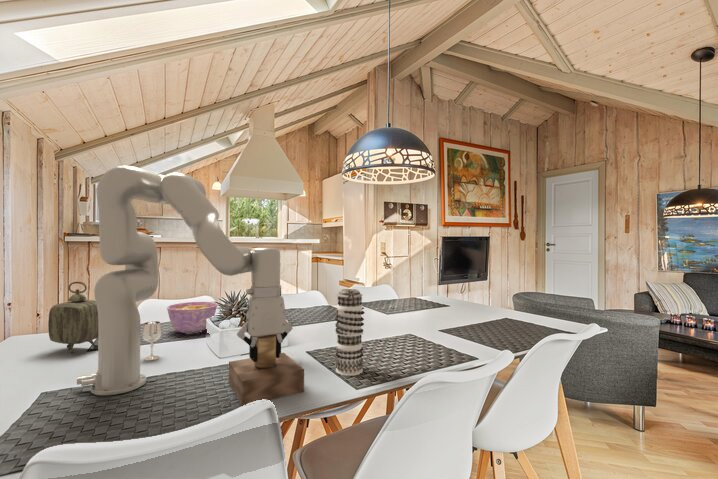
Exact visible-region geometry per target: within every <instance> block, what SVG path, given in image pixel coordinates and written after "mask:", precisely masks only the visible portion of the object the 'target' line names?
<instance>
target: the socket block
mask: <svg viewBox="0 0 718 479" xmlns="http://www.w3.org/2000/svg"><path fill="white" fill-rule="evenodd" d="M228 385H229V386H230V388H231V387H232V388H231V389H233V390H232V391H233V393H234V392H235V393H234V395H235V394H236V395H235V397H236V398H237V397H238V398H237V400H238V399H239V400H238V402H239V403H240V404H241V406H242V405H244V404H247V403H249V402H253V401H256V400H262V399H268V400H267V401H269V400H275V399H277V398H283V397H287V396H292V395H295V394H301V393H304V392H305V368H304V367H302V366H301V365H300V364H299V363H297V362H296V360H294V359H292V358H291V357H290V356H289V355H287V354H286V353H285V352H281V354H280V357H279V358H276V366H274V367H272V368H269V369H261V370H259V369H258V368H255V362H253V360H252V359H250V357H249V358H243V359H237V360H231V361H228Z"/></svg>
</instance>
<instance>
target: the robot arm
mask: <svg viewBox="0 0 718 479" xmlns="http://www.w3.org/2000/svg"><path fill="white" fill-rule="evenodd" d="M96 186H97V187H96V201H97V208H98V220H99V221H98V228H99V229H98V230H99V231H98V233H99V235H98V236H99V252H100V257H101V260H102V261H103V262H104V263H105V264H107V265H111V266H124V269H119V270H115V271H110V272H108V273H105V274H104V275H102V276H101V277H100V278H98V280H97V281H96V283H95V285H94V289H93V293H94V300H96V305H97V310H98V332H99V336H98V338H97V339H98V344H97V345H98V349H97V351H98V354H97V355H98V359H97V362H98V364H97V372H95V373H94V372H93V373H92V374H91V375H81V376H77V378H76V385H81V387H84V386H85V387H86V386H88V385H91V386H90V393H92V395H95V396H113V395H121V394H125V393H128V392H131V391H134V390H137V389H139V388H141V387H142V386H143V385H146V383H147V376H146V375H145V374H144V373H143V374H142V373H141V316H140V315H141V314H140V311H139V307H138V306H137V303H136V302H139V301H143V300H147V299H148V298H151V297H152V296H153V295H154V294H155V293H156V291H157V290H158V285H159V263H158V261H159V259H158V257H159V256H158V248H157V244H156V242H155V240H154V238H153V237H152V236H150V234H148V233H145V232H141V231H138V227H137V220H138V218H137V213H136V210H135V207H134V206H133V203H132V200H140V201H144V202H150V203H155V204H163V205H164V204H165V205H170V207H171V208H172V209H173V210H174V211H175V212H176V213H177V214H178V215H179V217H180V218H181V219H182V220H183V221H184V223H185V224H186V225H187V227H188V229H190V230H191V233H192V237H193V239H194V240H195V244H196V245H197V248H198V249H199V251H200V252H201V254H203V257H205V258H206V260H207V261H208V262H209V263H210V264H211V265H212V267H214V269H215V270H217V271H218V272H220V274H222V275H225V276H229V277H230V276H231V277H232V276H237V275H240V274H245V273H251V286H250V288H249V289H246V290H245V293H246V295H249V296H251V297H248V303H247V308H246V314H245V315H246V316H245V317H246V318H245V323H244V324H243V325H242V326H241V328H240V329H239V330H238V331H237V333H236V336H237V337H238V338H240V340H242V341H244V342H245V343H246V344H247V345H248V346H249V356H248V357H249V358H250V359H252V360H253V362H256V361H257V347H256V341H257V338H258V337H261V336H268V335H276V358H279V357H280V354H281V353H282V343H283V342H284V340H285V338H286V337H287V336H288V334H289V333H290V332H291V331H292V330H293V326H292V325H291V324H290V323H289V322H288V321H287V317H286V315H287V314H286V306H285V300H284V296H282V295H281V296H280V285H281V251H280V249H279V248H277V247H269V246H268V247H265V246H264V247H251V246H239V245H238V246H235V245H234V243H233V242H232V241H231V240H230V239H229V237H228V236H227V235H226V233H224V231H223V230H222V228H221V226H220V224H219V217H220V213H219V211H218V209H217V208H216V207H215V206H214V205H213V204H212V202H210V200H209V199H208V198H207V197H206V196H207V192H206V191H207V190H206V188H205V186H204V184H203V183H202V181H200V180H198V179H197V178H195V177H193V176H189V175H187V174H184V173H181V172H172V173H168V174H166V175H163V174H157V173H154V172H151V171H148V170H145V169H142V168H140V167H137V166H132V165H120V166H115V167H112V168H110V169H109V170H107V171H106V172H105V173H104V174H103V175H102V176H101V177H100V179H99V180H98V183H97V185H96ZM245 333H247V334H248V335H249V337H248V336H247V335H245Z"/></svg>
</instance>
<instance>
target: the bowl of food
mask: <svg viewBox="0 0 718 479" xmlns="http://www.w3.org/2000/svg"><path fill="white" fill-rule="evenodd" d="M217 308H218V303H216V302H213V301H191V302H190V301H189V302H187V301H186V302H180V303H174V304H170V305H169V306H166V309H167V314H168V317H169V321H170V325H171V327H172V328H173V330H174V331H177V332H179V333H182V332H183V333H196V332H200V331H202V330H203V331H205V330H207V329H206V319H207V318H210V317H212V316H214V315H215V316H216V311H217ZM215 316H214V317H215ZM203 331H202V332H203Z"/></svg>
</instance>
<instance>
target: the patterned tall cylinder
mask: <svg viewBox="0 0 718 479" xmlns="http://www.w3.org/2000/svg"><path fill="white" fill-rule="evenodd" d="M336 296H337V304H336V306H337V307H336V311H335V312H334V315H335V317H334V318H335V319H334V320H335V321H336V323H335V330H334V331H335V334H336V335H337V341H336V347H335V351H336V352H335V356H336V358H335V373H336V374H338V375H340V376H346V377H349V376H359V375H360V373H361V374H362V373H363V370H364V369H363V367H364V364H363V362H364V358H363V357H364V353H363V351H364V349H363V348H364V347H363V342H362V335H363V334H364V329H363V328H362V327H363V326H364V325H365V323H364V322H363V321H364V320H365V318H364V317H362V316H363V315H364V314H365V311H364V309H365V307H363V304H362V303H363V302H362V300H363V298H362V296H363V293H362V294H361V292H360V290H358V289H354V288H346V289H340V291H339V292H338V293H337V294H336Z"/></svg>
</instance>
